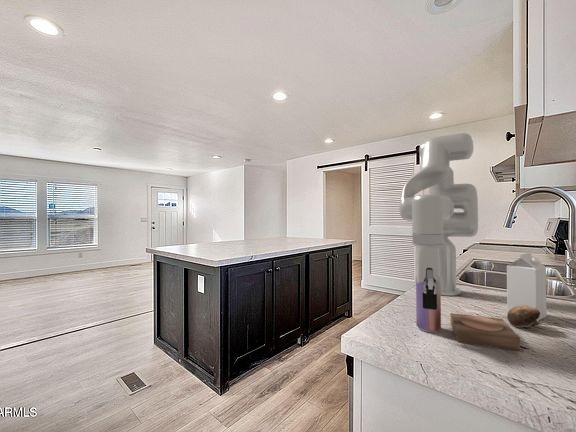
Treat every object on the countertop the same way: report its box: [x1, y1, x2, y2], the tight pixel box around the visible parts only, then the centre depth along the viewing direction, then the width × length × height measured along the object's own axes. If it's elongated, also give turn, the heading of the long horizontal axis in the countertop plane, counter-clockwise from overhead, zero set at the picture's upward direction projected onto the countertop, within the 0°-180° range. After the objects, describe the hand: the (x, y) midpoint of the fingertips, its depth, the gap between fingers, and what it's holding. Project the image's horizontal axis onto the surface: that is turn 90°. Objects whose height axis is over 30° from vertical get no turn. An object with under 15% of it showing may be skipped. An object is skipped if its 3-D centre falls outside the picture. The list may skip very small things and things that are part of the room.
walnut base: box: [449, 312, 521, 352], centre depth 69 cm, size 12×12×4 cm
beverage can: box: [415, 272, 442, 334], centre depth 74 cm, size 6×6×15 cm
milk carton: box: [506, 251, 547, 322], centre depth 82 cm, size 7×7×19 cm
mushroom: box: [506, 306, 542, 329], centre depth 74 cm, size 8×8×6 cm
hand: (428, 303), depth 74 cm, fingers open, 9 cm apart
